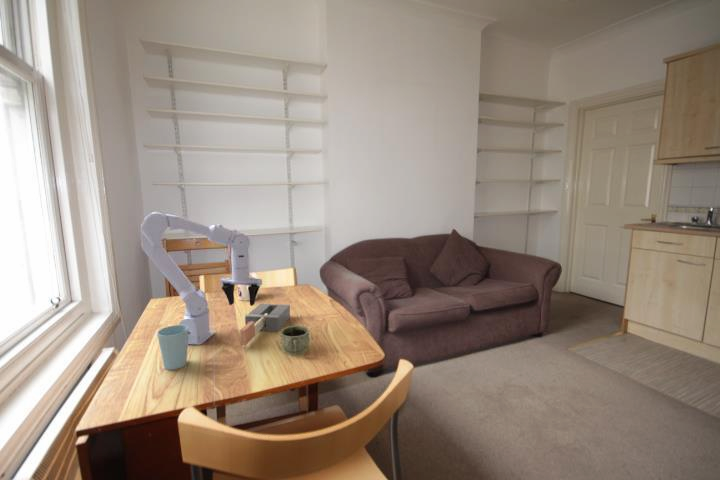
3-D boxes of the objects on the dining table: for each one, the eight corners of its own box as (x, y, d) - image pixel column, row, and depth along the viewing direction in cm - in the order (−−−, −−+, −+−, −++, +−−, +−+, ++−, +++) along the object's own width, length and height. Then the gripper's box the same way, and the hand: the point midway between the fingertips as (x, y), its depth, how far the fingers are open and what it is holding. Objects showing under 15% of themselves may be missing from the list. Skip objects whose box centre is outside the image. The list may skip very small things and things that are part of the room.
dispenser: (277, 331, 117) (277, 316, 116) (245, 330, 118) (244, 314, 118) (289, 317, 131) (289, 302, 131) (260, 315, 132) (260, 301, 132)
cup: (171, 357, 98) (168, 324, 96) (196, 358, 97) (194, 325, 96) (153, 371, 90) (150, 335, 89) (180, 372, 90) (178, 336, 88)
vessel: (281, 342, 109) (281, 324, 108) (308, 340, 111) (308, 322, 110) (280, 360, 97) (279, 339, 96) (310, 357, 99) (310, 337, 98)
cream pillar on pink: (245, 345, 103) (245, 330, 102) (240, 345, 103) (240, 329, 103) (269, 321, 123) (268, 308, 122) (264, 321, 123) (264, 308, 122)
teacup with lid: (237, 296, 158) (236, 272, 156) (257, 294, 161) (256, 271, 159) (237, 304, 146) (236, 278, 145) (259, 302, 149) (258, 277, 148)
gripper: (264, 265, 119) (265, 301, 121) (226, 264, 120) (227, 300, 122) (257, 269, 112) (258, 308, 114) (216, 268, 113) (218, 306, 115)
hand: (242, 304), depth 118 cm, fingers open, 7 cm apart
